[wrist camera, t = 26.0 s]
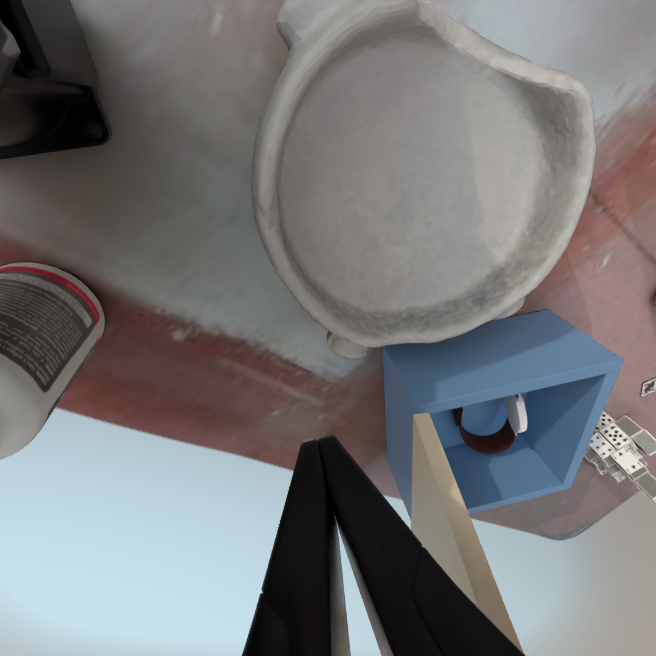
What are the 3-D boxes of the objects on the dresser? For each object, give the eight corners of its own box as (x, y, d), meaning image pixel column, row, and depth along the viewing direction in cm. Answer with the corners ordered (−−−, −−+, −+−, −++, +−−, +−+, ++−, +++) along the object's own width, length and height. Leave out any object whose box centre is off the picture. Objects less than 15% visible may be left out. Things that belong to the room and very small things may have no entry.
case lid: (611, 874, 7) (570, 878, 7) (514, 878, 13) (492, 880, 13) (428, 411, 17) (412, 413, 17) (422, 535, 24) (410, 536, 24)
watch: (506, 422, 28) (537, 460, 25) (449, 441, 28) (474, 481, 25) (509, 346, 24) (547, 381, 21) (442, 368, 24) (471, 406, 21)
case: (548, 308, 24) (624, 359, 19) (518, 427, 30) (570, 489, 25) (381, 343, 23) (417, 406, 18) (386, 459, 29) (414, 529, 24)
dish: (232, 0, 13) (223, -52, 9) (561, 15, 15) (679, -22, 11) (267, 331, 21) (271, 387, 17) (485, 310, 23) (537, 354, 19)
